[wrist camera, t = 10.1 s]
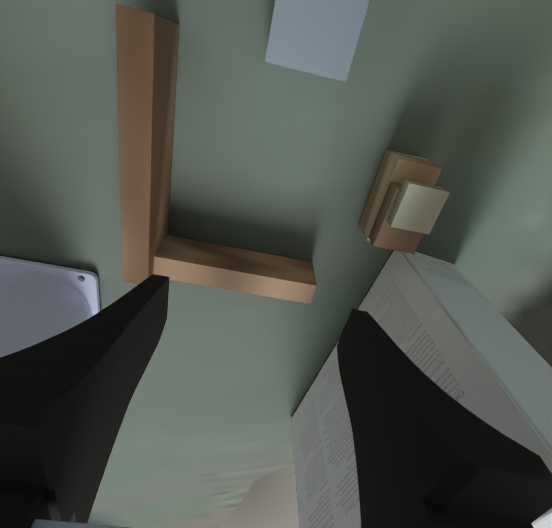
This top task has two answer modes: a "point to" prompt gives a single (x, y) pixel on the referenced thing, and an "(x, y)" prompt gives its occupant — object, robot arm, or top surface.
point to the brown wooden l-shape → (157, 178)
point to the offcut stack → (402, 202)
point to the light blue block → (316, 35)
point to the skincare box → (437, 366)
